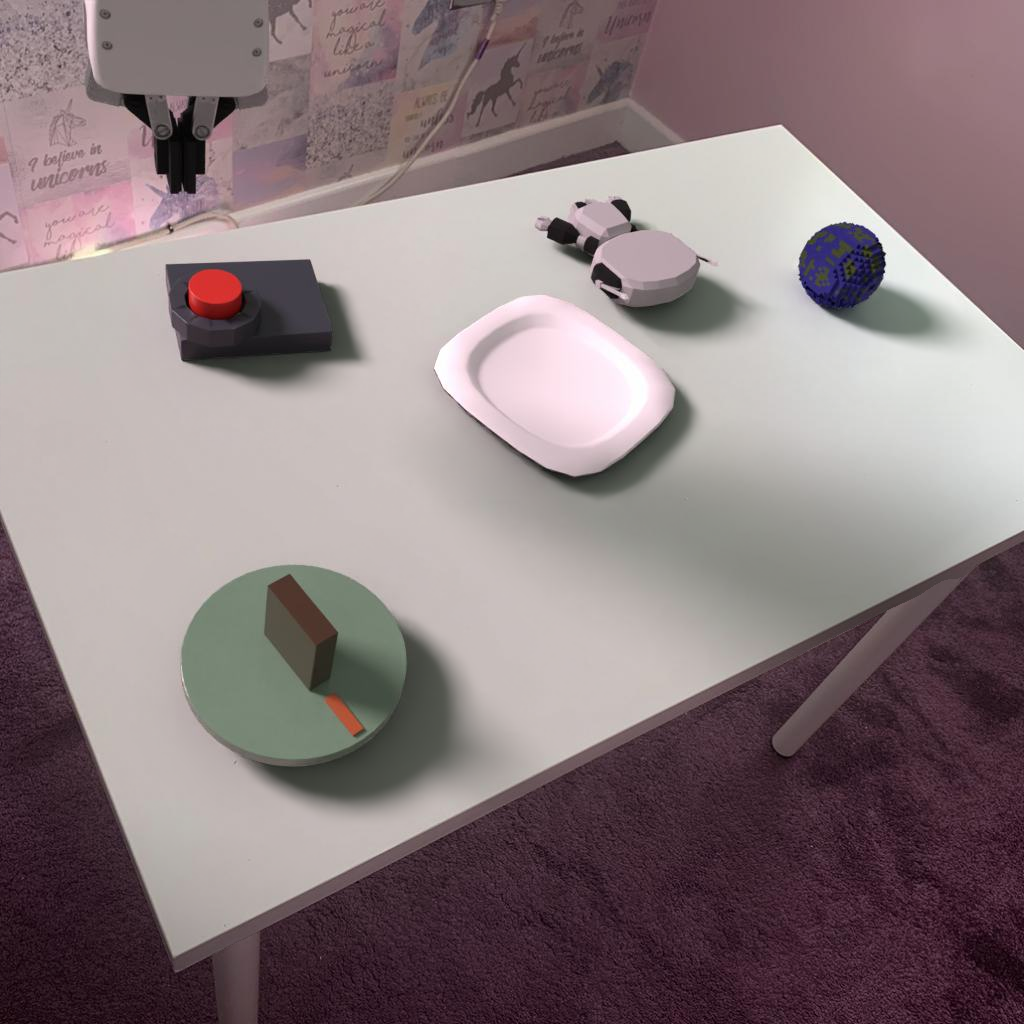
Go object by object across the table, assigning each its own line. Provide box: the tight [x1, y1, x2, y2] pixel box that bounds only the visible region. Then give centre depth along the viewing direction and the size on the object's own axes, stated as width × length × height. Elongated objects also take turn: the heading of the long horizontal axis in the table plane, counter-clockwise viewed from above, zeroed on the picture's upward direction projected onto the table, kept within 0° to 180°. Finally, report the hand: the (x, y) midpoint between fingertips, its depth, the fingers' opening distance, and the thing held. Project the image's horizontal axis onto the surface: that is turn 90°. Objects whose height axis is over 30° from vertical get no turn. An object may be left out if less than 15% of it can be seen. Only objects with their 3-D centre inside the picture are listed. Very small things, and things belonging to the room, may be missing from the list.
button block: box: [164, 258, 334, 361], centre depth 86 cm, size 12×10×4 cm
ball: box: [797, 221, 887, 310], centre depth 106 cm, size 8×8×8 cm
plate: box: [433, 294, 676, 478], centre depth 90 cm, size 18×18×2 cm
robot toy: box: [533, 195, 719, 308], centre depth 102 cm, size 12×4×15 cm
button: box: [189, 269, 242, 320], centre depth 83 cm, size 4×4×2 cm
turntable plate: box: [180, 564, 408, 767], centre depth 65 cm, size 14×14×7 cm
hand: (179, 180), depth 70 cm, fingers closed
